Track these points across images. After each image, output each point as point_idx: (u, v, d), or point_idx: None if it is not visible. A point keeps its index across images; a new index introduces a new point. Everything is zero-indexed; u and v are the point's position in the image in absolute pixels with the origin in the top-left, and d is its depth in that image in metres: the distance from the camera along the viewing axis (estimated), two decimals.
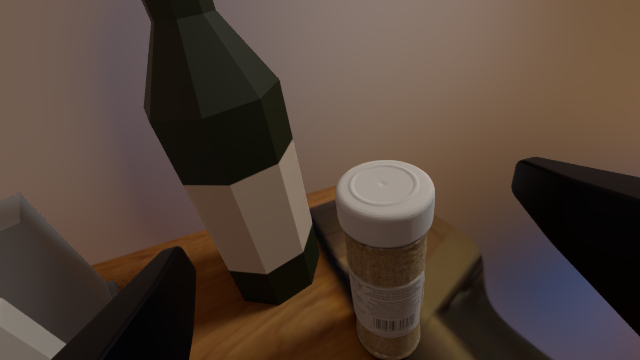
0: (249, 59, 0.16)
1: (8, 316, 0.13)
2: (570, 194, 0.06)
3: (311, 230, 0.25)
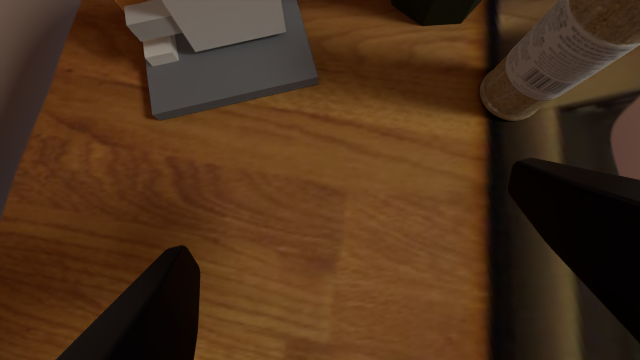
0: None
1: None
2: (565, 195, 0.06)
3: None
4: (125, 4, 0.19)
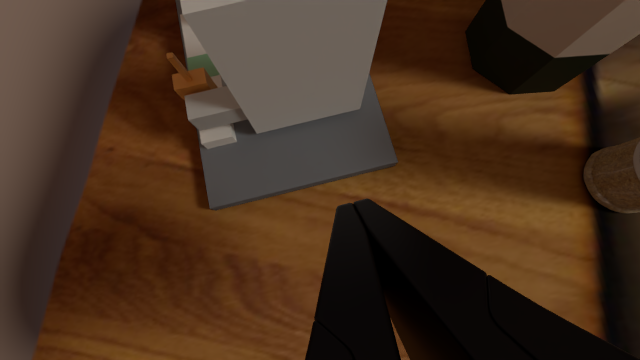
0: None
1: None
2: (372, 245, 0.06)
3: None
4: (185, 92, 0.16)
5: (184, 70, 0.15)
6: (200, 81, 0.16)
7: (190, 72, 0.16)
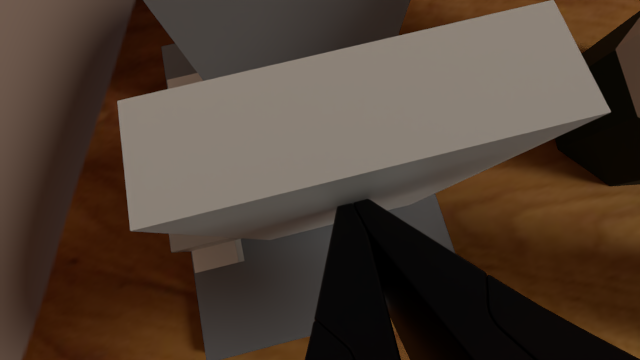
0: None
1: None
2: (372, 245, 0.06)
3: None
4: None
5: None
6: None
7: None
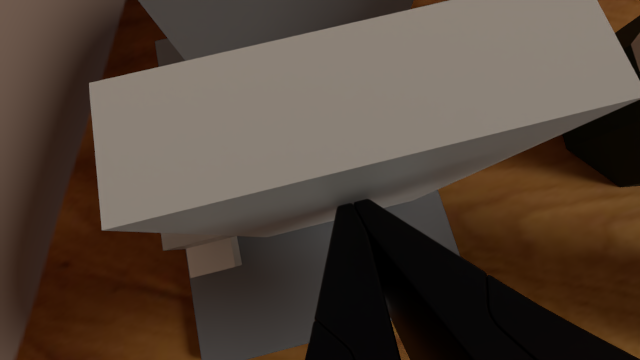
0: None
1: None
2: (372, 245, 0.06)
3: None
4: None
5: None
6: None
7: None
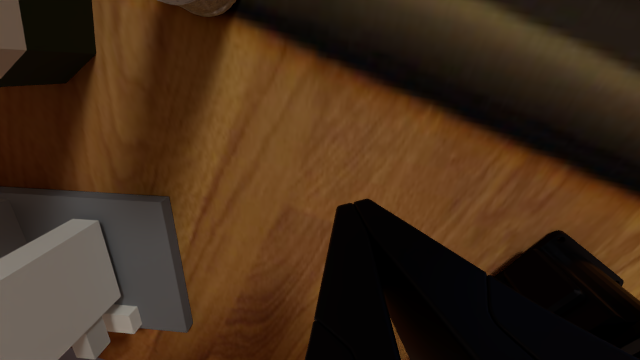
0: None
1: None
2: (372, 245, 0.06)
3: None
4: None
5: None
6: None
7: None
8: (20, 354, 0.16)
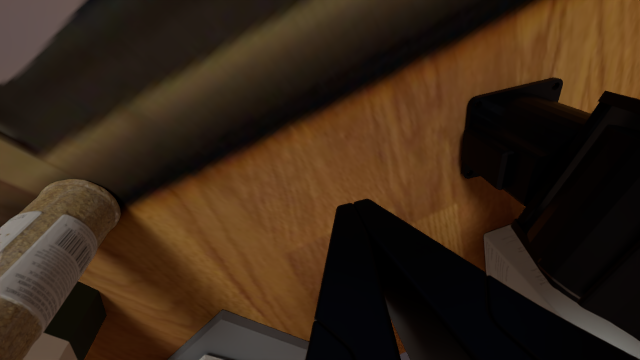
0: None
1: None
2: (373, 245, 0.06)
3: None
4: None
5: None
6: None
7: None
8: None
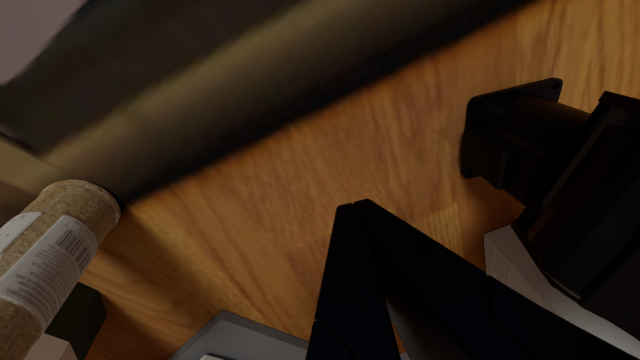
0: None
1: None
2: (372, 245, 0.06)
3: None
4: None
5: None
6: None
7: None
8: None
